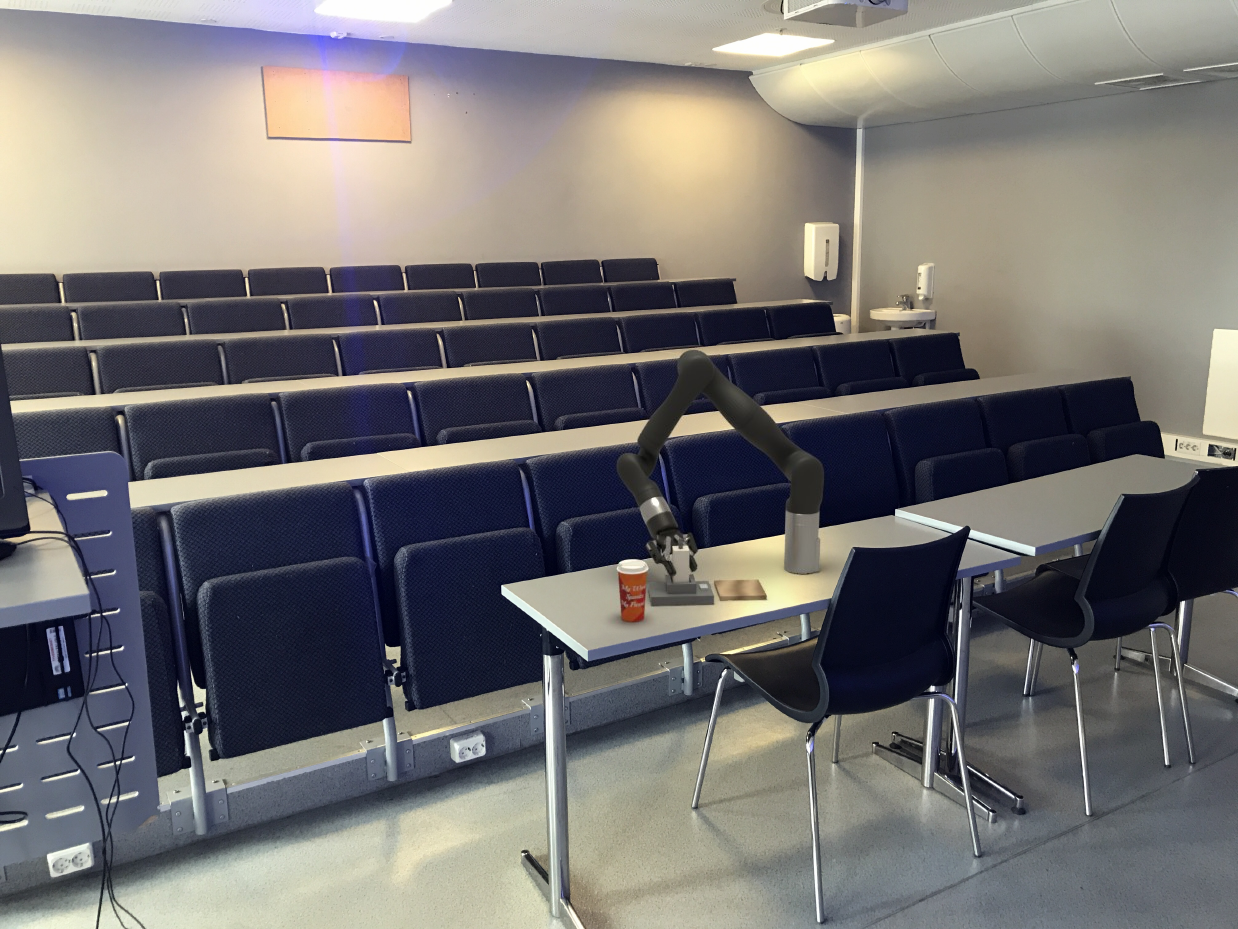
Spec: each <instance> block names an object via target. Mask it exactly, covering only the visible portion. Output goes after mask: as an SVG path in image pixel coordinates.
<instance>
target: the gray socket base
mask: <svg viewBox="0 0 1238 929" xmlns="http://www.w3.org/2000/svg"><path fill="white" fill-rule="evenodd" d="M664 579H665V580H664V581H649V582H648V595H649V600H650V605H651V606H652V607H660V606H661V607H662V606H663V607H664V606H665V607H666V606H702V605H703V606H707V605H711V606H712V605H714V604H715V594H714V592H713V589H712V586H711V584H710V580H696V579H695V576H694V574H693V573H689V582H686V583H672V577H671V576H670V575H669V574H665V575H664ZM651 606H650V607H651Z"/></svg>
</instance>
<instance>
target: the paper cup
mask: <svg viewBox="0 0 1238 929" xmlns="http://www.w3.org/2000/svg"><path fill="white" fill-rule="evenodd" d="M617 564H618V565H617V567H616V571H617V573H618V575H617V577H618V589H619V590H618V592H619V602H620V605H619V606H620V615H621V620H623V621H625V622H629V623H637V622H640V621H641V622H642V621H643V620H644V619H645V610H646V593H647V575H648V570H649V569H650V568H649V566H648V564H647V563H646V562H645V561H643V560H641V559H635V558H634V559H625V560H621V561H620V562H619V563H617Z"/></svg>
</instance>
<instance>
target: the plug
mask: <svg viewBox="0 0 1238 929" xmlns="http://www.w3.org/2000/svg"><path fill="white" fill-rule="evenodd" d="M683 542H684V540H683V539H682V538H679V540H678V546H672V552H671V556H672V557H671V558H672V559H671V562H672V564H673V566H674V568H675V570H676V575H675V576H673V577H672V583H686V582H689V574H690V568H689V548H688V546H683Z"/></svg>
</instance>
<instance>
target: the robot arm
mask: <svg viewBox="0 0 1238 929" xmlns="http://www.w3.org/2000/svg"><path fill="white" fill-rule="evenodd" d="M676 368H677V374H678V377H677V379H676V382H675V383H674V386H673V388H672V389H671V391H670V393H669V394H668V396H667V397H666V399H665V400H664V401H663V403H662V404H661V405H660V406H659V407H658V408H657V409H656V410H655V411H654V413H652V415H651V416H650V417H649V419H648V421H646V424H645V426H644V427H643V429H642V430H641V432H640V433H639V435H638V437H637V441H636V442H637V445H638V446H639V447H640V448H639V452H638V453H637V454H636V453H632V452H625V453H622V454H621V455H620V456H619V457H618V459H617V462H616V470H617V474H618V476H619V478H620V479H621V481H622V482H623V484H624V485H625V487H626V488H627V489H628V491H629V492H630V493H631V494H632V495H633V497H634V499H635V502H636V504H637V506H638V508H639V510H640V513H641V517H642V519H643V521H644V524H645V525H646V527H647V530H648V532H649V535H650V537H651V538H652V539H653V540H651V539H650V540H649V541H648V542H646V545H645V548H646V550H647V552H648V553H649V555H650V557H651V558H652V560H653V561H654V563H655V564H656V565H659V564H660V565H661V564H662V566H664V568H665V571H666V573H667V575H670V576H671V577H673V576H675V575H676V570H675V568H674V566H673V564H672V560H670V558H671V557H670V556H671V555H670V554H672V546H678V540H679V538H682V539H683V546H688V548H689V571H690V572H691V573H695V572H696V571H697V570H698V565H699V564H698V563H697V561H696V559H695V557H694V556H695V555H696V554H697V553H698V552H699V549H698V547H697V544H696V542H695V538H694V535H693V533H692V532H688V533H687V534H683V533H682V532H680V530H679V525H678V523H677V521H676V519H675V517H674V515H673V513H672V511H671V508H670V506H669V505H668V503H667V501H666V499H665V498H664V495H663V493H662V492H661V490H660V488H659V486H658V485H657V483H656V482H655V481H653V480H651V479H650V478H649V477H651V475H652V474H653V472H654V471H655V470H654V469H655V468H656V465H657V461H658V458H659V456H660V452H661V450H662V448H663V447H664V445H665V443H666V442H667V441H668V439H669V437H670V436H671V434H672V433H673V431H674V429H675V428H676V426H677V425H678V423H679V421H680V420H681V419H682V417H683V416H684V414H685V413H686V411H687V410H688V408H689V407H690V406H691V405H692V403H693V402H694V401H695V400H696V398H697V397H699V395H700V394H703V395H704V396H705V397H706V398H707V399H708V400H710V402H711V403H712V404H713V405H714V407H715V408H716V409H717V410H718V412H719V413H720V415H721V416H722V418H723V419H725V420H726V422H727V423H729V425H730V426H731V427H732V428H733V429H734V430H735V431H736V432H738V434H739V435H741V437H743V438H744V439H745V440H746V441H748V442H749V443H750V444H751V445H753V447H756V448H757V449H758V450H759V451H761V452H762V453H764V454H765V455H766V456H767V457H769V459H770V460H772V462H773V463H774V464H775V465H776V466H777V468H778V469H779V470H780V471H781V472H782V473H783V475H784V476H785V478H787V479H788V481H789V482H790V492H789V493H790V494H789V498H788V499H786V501H785V522H784V523H785V525H784V526H785V527H784V530H785V531H784V555H783V556H784V557H783V558H784V559H783V568H784V570H785V571H786V572H789V573H792V574H797V573H798V574H799V575H806V574H807V573H809V574H813V573H820V561H821V558H820V557H821V556H820V555H821V538H820V537H819V531H820V527H819V526H820V509H821V508H820V506H821V504H822V502H823V497H824V496H823V494H824V492H823V491H824V485H825V484H824V482H825V471H824V466H823V464H822V461H820V460H819V459H818V458H817V457H816V456H814V455H812V454H811V453H809V452H806V450H803V449H802V448H800V447H799V445H796V443H794V442H793V441H792V440H791V439H789V438H788V437H787V436H786V435H785V434H784V433H783V431H782V430H781V428H780V426H778V424H777V422H776V421H775V420H774V419H773V417H772V416H771V415H770V414H769V413H768V412H767V411H766V410H765V409H764V408H763V406H761V405H759V404H758V402H757V401H755V400H754V399H753V398H752V397H750V396H749V395H748V394H747V393H745V391H743V390H742V389H741V388H739V387H738V386H736V385H735V384H734V383H733V382H731V381H730V380H729V379H728V378H727V377H726V375H724V373H722V372H721V370H719V368H718V367H717V366H716V365H715V363H713V361H712V360H711V359H710V357H709V356H708V354H706V353H705V352H703V351H702V350H698V349H689V350H686V351H684V352H682V354H681V355H680V356H679V358H678V361H677V366H676ZM657 547H658V548H657ZM659 549H660V550H659ZM807 575H808V574H807Z"/></svg>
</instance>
